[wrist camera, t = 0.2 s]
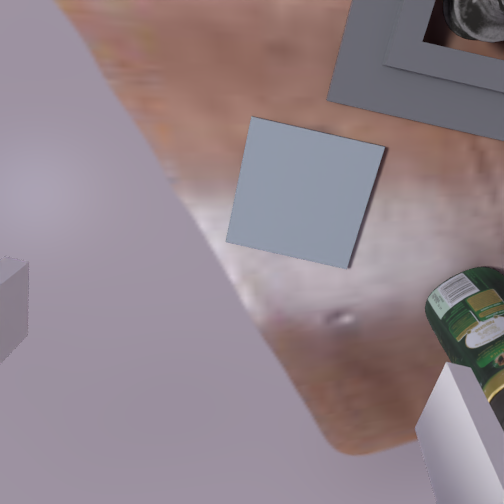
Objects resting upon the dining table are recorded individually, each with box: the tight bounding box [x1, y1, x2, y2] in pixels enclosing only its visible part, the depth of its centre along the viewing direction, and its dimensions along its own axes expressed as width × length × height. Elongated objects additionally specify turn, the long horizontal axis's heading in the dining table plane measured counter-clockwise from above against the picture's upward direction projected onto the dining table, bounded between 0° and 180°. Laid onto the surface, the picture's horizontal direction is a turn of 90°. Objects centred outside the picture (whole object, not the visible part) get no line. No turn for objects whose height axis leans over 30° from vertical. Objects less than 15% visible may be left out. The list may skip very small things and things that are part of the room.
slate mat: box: [226, 116, 385, 269], centre depth 41 cm, size 11×11×1 cm
